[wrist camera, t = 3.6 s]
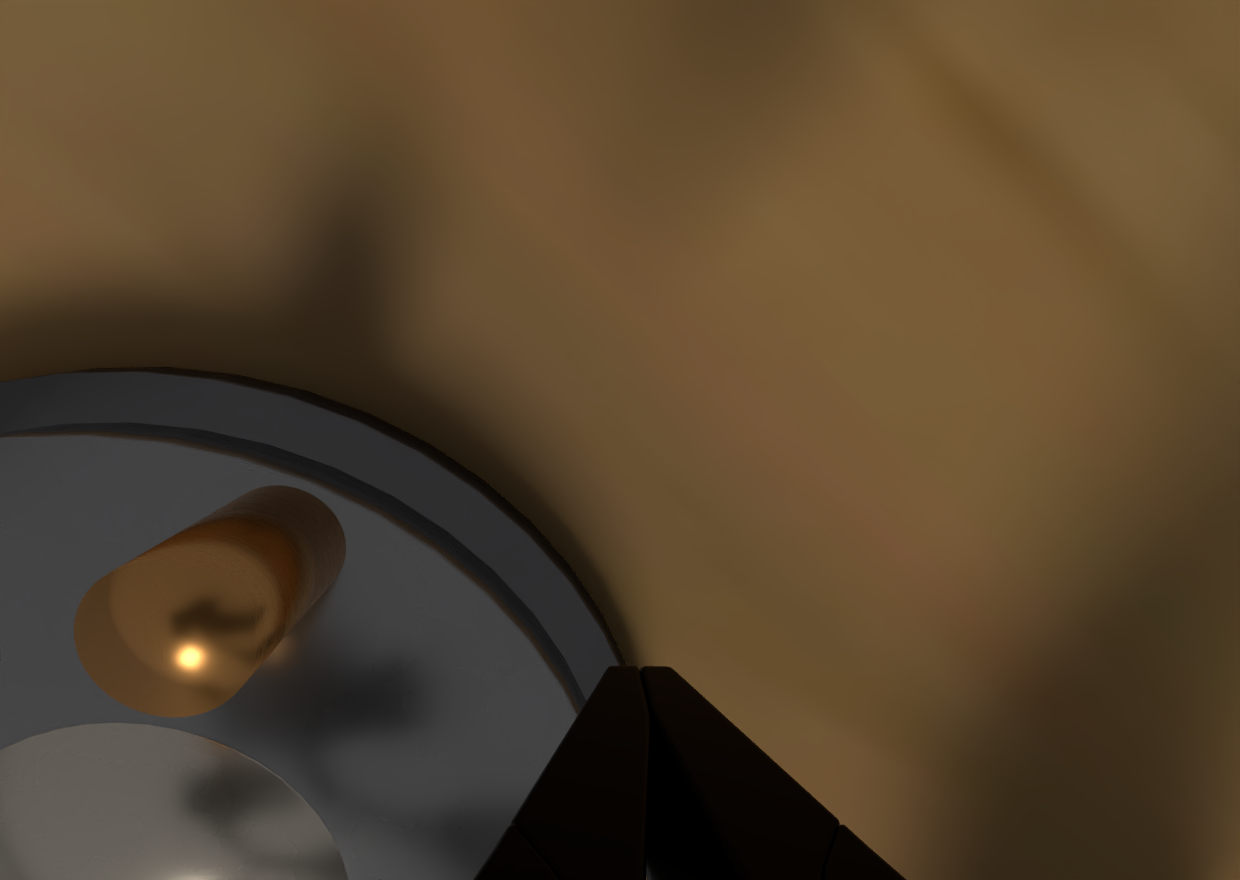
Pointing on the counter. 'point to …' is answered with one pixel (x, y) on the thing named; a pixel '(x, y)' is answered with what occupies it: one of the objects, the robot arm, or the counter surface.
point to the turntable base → (352, 449)
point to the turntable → (251, 669)
